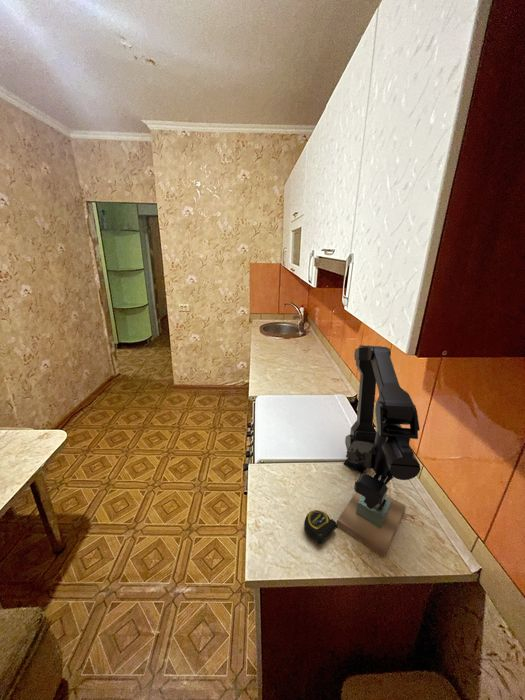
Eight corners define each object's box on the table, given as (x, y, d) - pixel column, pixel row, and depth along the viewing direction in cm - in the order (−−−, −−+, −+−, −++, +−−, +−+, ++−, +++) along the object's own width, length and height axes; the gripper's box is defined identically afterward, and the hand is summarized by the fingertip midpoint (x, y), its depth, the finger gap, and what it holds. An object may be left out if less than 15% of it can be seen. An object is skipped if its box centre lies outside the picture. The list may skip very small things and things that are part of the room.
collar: (365, 497, 81) (367, 486, 79) (389, 511, 77) (392, 500, 75) (355, 513, 76) (357, 502, 75) (380, 528, 72) (383, 517, 71)
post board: (361, 487, 86) (366, 464, 83) (404, 510, 79) (411, 486, 76) (336, 525, 75) (340, 500, 72) (383, 557, 68) (390, 531, 65)
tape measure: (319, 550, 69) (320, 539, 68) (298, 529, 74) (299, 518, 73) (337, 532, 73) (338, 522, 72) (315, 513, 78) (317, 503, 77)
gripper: (369, 415, 80) (360, 460, 86) (337, 451, 66) (329, 501, 72) (412, 432, 73) (400, 480, 79) (387, 476, 60) (374, 529, 66)
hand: (376, 495), depth 74 cm, fingers open, 9 cm apart
